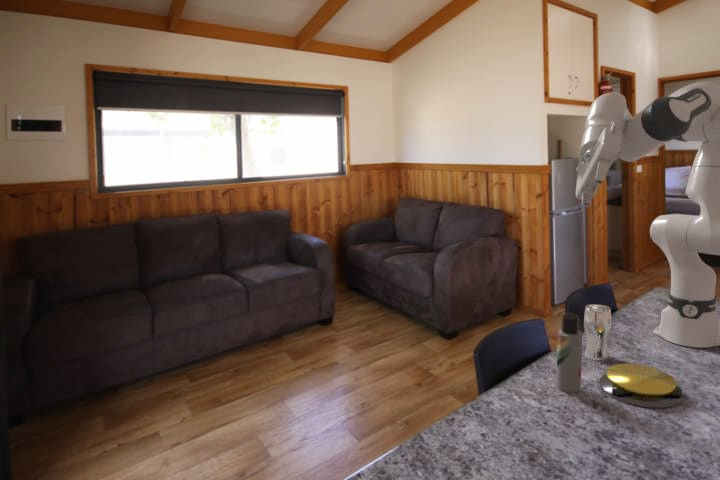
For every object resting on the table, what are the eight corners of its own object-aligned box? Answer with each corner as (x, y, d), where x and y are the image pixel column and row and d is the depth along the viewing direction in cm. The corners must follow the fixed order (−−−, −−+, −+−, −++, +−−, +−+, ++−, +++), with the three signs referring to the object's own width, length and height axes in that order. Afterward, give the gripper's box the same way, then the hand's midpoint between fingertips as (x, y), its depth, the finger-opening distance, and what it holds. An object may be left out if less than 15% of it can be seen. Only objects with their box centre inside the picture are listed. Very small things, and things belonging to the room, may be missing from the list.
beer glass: (612, 361, 133) (615, 312, 130) (586, 361, 134) (588, 311, 131) (605, 351, 139) (607, 304, 137) (580, 350, 141) (581, 303, 138)
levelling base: (607, 367, 130) (607, 355, 129) (685, 383, 119) (686, 371, 118) (592, 395, 116) (593, 382, 115) (679, 416, 105) (680, 403, 104)
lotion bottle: (579, 383, 122) (581, 311, 118) (581, 394, 117) (584, 319, 113) (555, 381, 124) (557, 310, 120) (557, 391, 118) (559, 317, 115)
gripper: (632, 119, 101) (624, 168, 95) (600, 175, 119) (592, 219, 113) (601, 114, 102) (592, 161, 97) (574, 170, 120) (565, 213, 114)
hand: (592, 193), depth 105 cm, fingers open, 8 cm apart
